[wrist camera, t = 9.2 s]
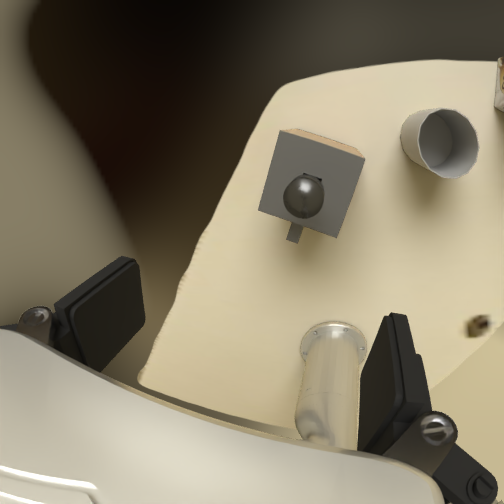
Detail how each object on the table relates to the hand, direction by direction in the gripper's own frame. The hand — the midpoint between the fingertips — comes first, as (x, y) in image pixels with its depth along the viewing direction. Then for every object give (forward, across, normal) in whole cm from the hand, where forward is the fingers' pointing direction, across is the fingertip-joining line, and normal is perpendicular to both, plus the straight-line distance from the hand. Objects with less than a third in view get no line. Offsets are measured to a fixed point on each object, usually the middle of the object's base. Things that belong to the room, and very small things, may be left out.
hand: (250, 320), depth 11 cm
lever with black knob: (+33, 0, -1) cm, 33 cm away
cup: (+37, -15, -8) cm, 41 cm away
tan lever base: (+37, 0, +1) cm, 37 cm away
